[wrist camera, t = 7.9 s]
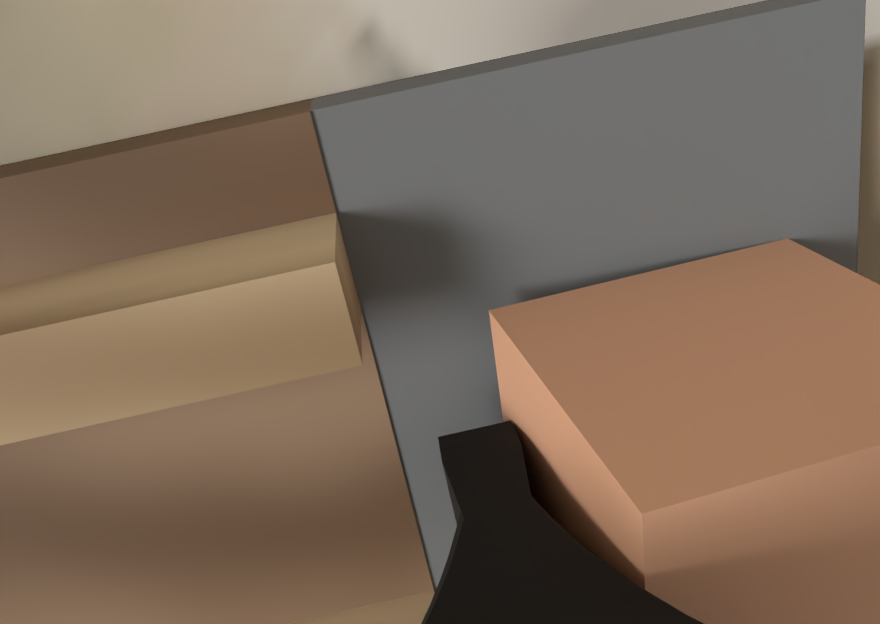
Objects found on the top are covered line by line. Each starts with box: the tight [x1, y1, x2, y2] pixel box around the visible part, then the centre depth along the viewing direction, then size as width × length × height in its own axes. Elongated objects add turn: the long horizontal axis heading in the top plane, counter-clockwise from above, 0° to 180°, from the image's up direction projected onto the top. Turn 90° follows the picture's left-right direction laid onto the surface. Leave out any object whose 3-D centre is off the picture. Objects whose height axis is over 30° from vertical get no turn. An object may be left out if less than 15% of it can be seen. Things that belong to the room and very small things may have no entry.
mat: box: [310, 0, 866, 592], centre depth 14 cm, size 12×8×1 cm, turn 11°
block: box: [489, 239, 880, 624], centre depth 12 cm, size 5×5×5 cm
